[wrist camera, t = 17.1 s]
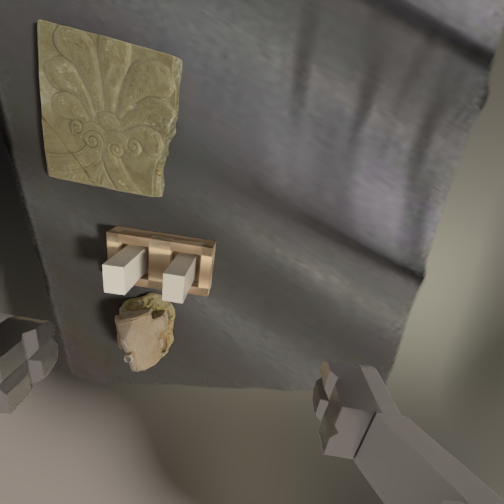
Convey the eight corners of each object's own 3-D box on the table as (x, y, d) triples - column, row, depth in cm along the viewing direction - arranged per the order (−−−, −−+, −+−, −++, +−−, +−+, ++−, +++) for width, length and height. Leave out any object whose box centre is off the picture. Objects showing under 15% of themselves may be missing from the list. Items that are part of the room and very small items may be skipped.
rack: (117, 225, 46) (106, 231, 42) (216, 241, 46) (212, 248, 43) (118, 272, 49) (108, 281, 46) (210, 286, 49) (207, 296, 46)
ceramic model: (113, 294, 51) (80, 327, 41) (170, 290, 50) (150, 322, 41) (132, 352, 56) (107, 393, 47) (185, 349, 55) (170, 390, 46)
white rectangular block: (129, 243, 45) (102, 264, 37) (147, 246, 45) (123, 267, 37) (130, 267, 47) (104, 292, 39) (147, 270, 47) (124, 295, 39)
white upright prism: (179, 251, 45) (163, 273, 37) (197, 253, 45) (184, 276, 38) (178, 274, 47) (162, 300, 39) (195, 277, 47) (182, 303, 39)
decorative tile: (57, 175, 43) (40, 177, 40) (50, 24, 36) (29, 12, 33) (172, 201, 44) (165, 205, 41) (188, 60, 37) (181, 51, 34)
